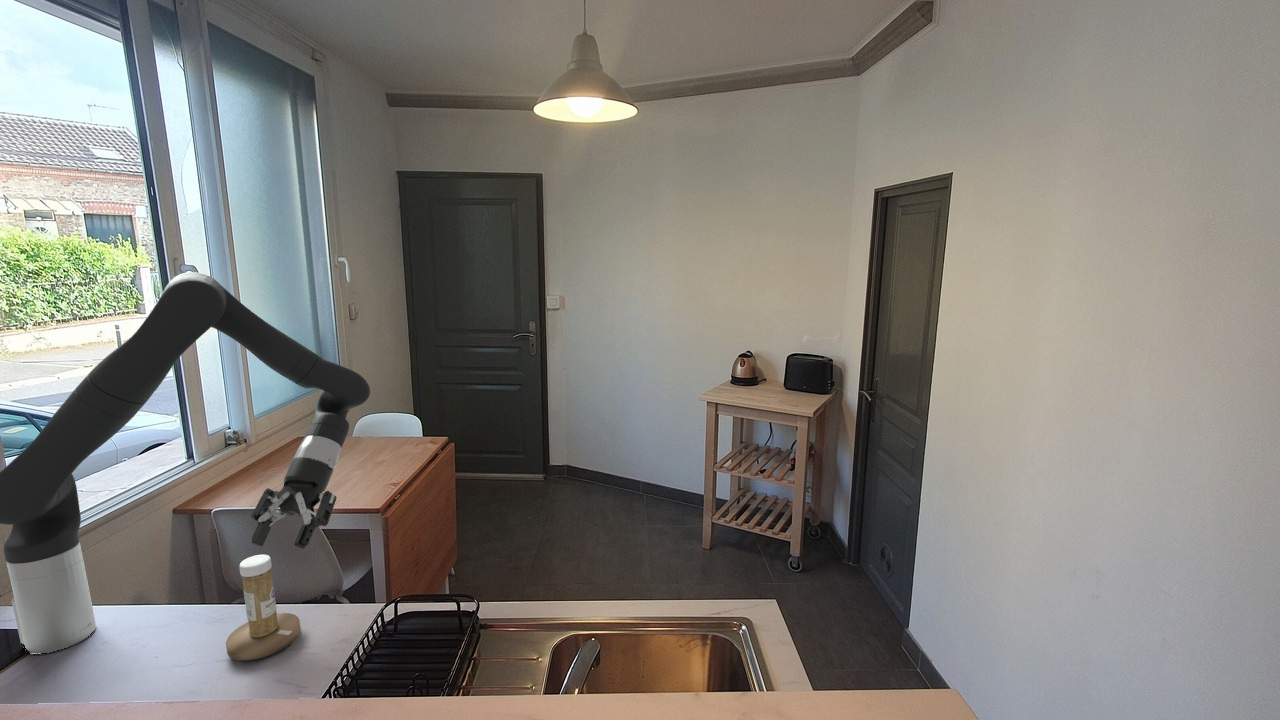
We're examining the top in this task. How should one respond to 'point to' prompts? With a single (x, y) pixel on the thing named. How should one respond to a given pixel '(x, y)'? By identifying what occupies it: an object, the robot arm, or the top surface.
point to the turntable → (263, 639)
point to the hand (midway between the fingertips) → (277, 546)
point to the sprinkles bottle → (259, 595)
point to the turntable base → (266, 656)
